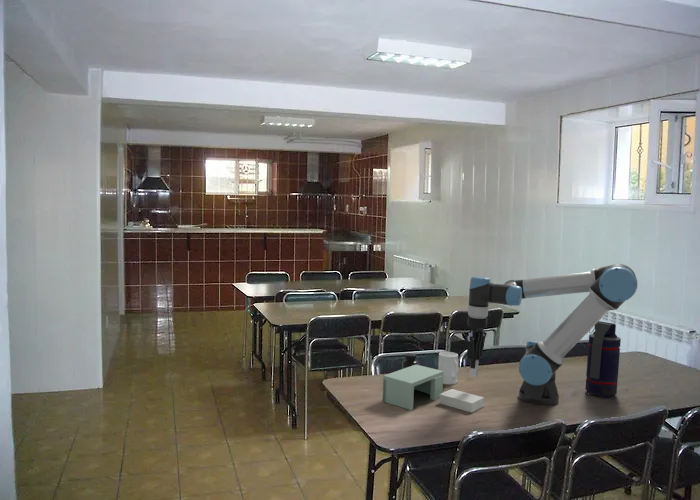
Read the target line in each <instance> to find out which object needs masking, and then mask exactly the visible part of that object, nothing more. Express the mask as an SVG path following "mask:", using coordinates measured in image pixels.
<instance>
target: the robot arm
mask: <svg viewBox="0 0 700 500" xmlns="http://www.w3.org/2000/svg"><path fill="white" fill-rule="evenodd" d="M468 289H469V290H468V291H469V292H468V295H469V296H468V306H467V310H468V311H467V315H468V316H467V319H466V320H467V322H466V323H467V324H466V325H467V326H468V327H469V328H470V329H469V332H468V333H469V334H468V335H466V336H465V341H466V354H467V356H466V357H467V359H468V360H470V363H469V364H470V365H469V376H471V377H475V378H477V377H478V376H479V363H480V361H481V360H483V359H482V357H483V354H484V353H483V352H484V348H485V347H484V346H485V341H486V337H487V334H488V333H487V332H486V331H485V330H484V329H486V328H487V327H488V316H489V303H490V304H498V305H505V306H510V307H511V306H514V307H515V306H517V307H518V306H521V304H522V300H523V299H533V298H541V297H542V298H543V297H552V296H563V295H571V294H582V293H589V294H588V295H586V297H585V298H584V299H583V300H582V301H581V302H580V303H579V304H578V305H577V306H576V308H574V309H573V310H572V312H570V314H568V315H567V317H566V318H564V320H563V321H562V322H561V323H560V324H559V325H557V327H556V328H555V329H554V330H553V331H552V333H551V334H550V335H549V336H548V337H546V339H545V340H528V341H527V342H526V345H525V354H524V355H523V356H522V357H521V359H520V361H519V363H518V373H519V375H520V377H521V378H522V383H521V385H520V388H519V390H518V398H519V399H520V400H522V401H524V402H527V403H529V404H533V405H540V406H553V405H556V404H558V403H559V402H560V394H559V391H558V387H557V383H556V376H557V375H556V373H557V370H559V368H561V367H562V365H563V364H564V357H565V356H566V355H567V354H568V353H569V352H570V351H571V350H572V349H573V348H574V347H575V346H576V345H577V344H578V343H579V342H580V341H581V340H582V339H583V338H584V337H585V336H586V335H587V334H588V333H589V331H590V332H591V330H593V329H594V327H595V324H596V323H597V322H598V321H601V319H603V318H604V316H605V315H607V313H609V312H610V311H617V310H618V309H619V308H620V307H621V306H622V305H623V304H624V303H625V302H626V301H628V300H630V299H631V298H632V297H633V296H635V293H636V292H637V289H638V279H637V276H636V272H634V270H633V269H632V268H631V267H630V266H628V265H625V264H621V263H614V264H611V265H607V266H601V267H594V268H593V269H592V270H591V271H586V272H583V271H582V272H577V273H576V272H575V273H569V274H568V273H567V274H558V275H550V276H549V275H548V276H541V277H535V278H534V277H532V278H524V279H518V280H517V279H510V280H507V281H505V282H504V283H503V284H501V283H500V284H499V283H493V282H491V279H490V277H487V276H481V275H480V276H479V275H478V276H477V275H475V276H473V277H470V281H469V288H468ZM479 360H480V361H479Z"/></svg>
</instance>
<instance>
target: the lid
mask: <svg viewBox="0 0 700 500" xmlns="http://www.w3.org/2000/svg"><path fill="white" fill-rule="evenodd" d="M438 404H441V405H444V406H448V407H451V408H454V409H458V410H461V411H465V412H468V413H469V412H470V413H474V412H476V411H478V410H481V409H482V408H483V407H484V404H485V398H484V396H480V395H475V394H472V393H468V392H465V391H460V390H457V389H455V388H454V389H453V388H451V389H449V390H445V391H442V393H441V394H440V395H439V398H438Z"/></svg>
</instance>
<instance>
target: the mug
mask: <svg viewBox="0 0 700 500" xmlns="http://www.w3.org/2000/svg"><path fill="white" fill-rule="evenodd" d="M458 362H459V354H458V353H456V352H452V351H441V352H439V353H438V368H437V370H440V371H443V385H456V384H457V383H458V375H459V371H460V369H459V363H458Z"/></svg>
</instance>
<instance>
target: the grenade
mask: <svg viewBox="0 0 700 500" xmlns="http://www.w3.org/2000/svg"><path fill="white" fill-rule="evenodd" d="M616 325H617V324H616V323H611V322H606V321H601V320H599V321H598V322H597V323H596V324H595V326H594V327H593V328H592V331H591V330H590V331H589V332H588V333H589V335H588V347H587V361H586V373H585V374H586V375H585V377H586V378H585V389H584V390H585V391H586V394H588V393H589V394H588V395H590V394H593V395H595V396H596V395H598V396H602V398H603V399H609V397H614V396H616V395H617V392H618V381H619V369H620V368H619V366H620V353H621V340H622V339H621V337H619V336H618V335H617V334H616V330H617V326H616Z"/></svg>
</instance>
